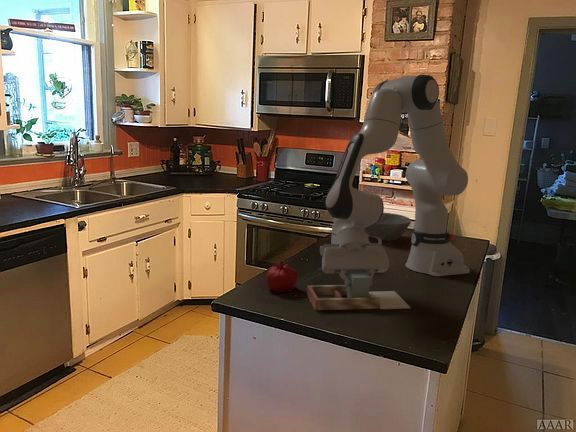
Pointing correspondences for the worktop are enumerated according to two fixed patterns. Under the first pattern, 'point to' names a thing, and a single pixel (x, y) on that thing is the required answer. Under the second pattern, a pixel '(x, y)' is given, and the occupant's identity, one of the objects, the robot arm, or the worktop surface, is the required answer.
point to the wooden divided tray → (343, 299)
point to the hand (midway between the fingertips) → (359, 285)
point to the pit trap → (319, 296)
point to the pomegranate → (281, 278)
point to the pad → (390, 300)
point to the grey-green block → (358, 285)
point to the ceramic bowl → (389, 227)
